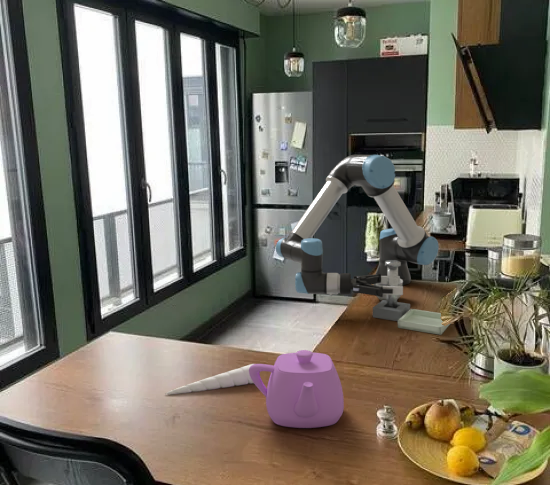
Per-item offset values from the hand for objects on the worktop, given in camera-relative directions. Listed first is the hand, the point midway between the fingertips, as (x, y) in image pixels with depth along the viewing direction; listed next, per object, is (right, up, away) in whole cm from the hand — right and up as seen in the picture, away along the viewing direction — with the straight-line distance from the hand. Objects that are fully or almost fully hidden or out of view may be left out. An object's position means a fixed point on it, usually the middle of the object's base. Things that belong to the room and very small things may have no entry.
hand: (401, 285), depth 188 cm
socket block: (-3, -11, +3) cm, 11 cm away
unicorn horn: (-58, -22, -51) cm, 81 cm away
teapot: (-37, -25, -66) cm, 79 cm away
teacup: (-2, -7, +21) cm, 23 cm away
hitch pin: (-3, -11, +3) cm, 11 cm away
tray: (+6, -12, -7) cm, 16 cm away
